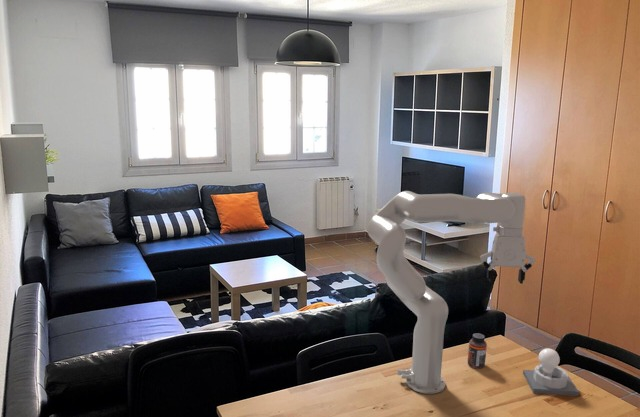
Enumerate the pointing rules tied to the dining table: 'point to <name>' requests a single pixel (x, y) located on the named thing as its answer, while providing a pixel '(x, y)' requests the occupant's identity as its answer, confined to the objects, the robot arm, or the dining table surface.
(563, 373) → the socket holder
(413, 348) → the robot arm
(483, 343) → the supplement bottle
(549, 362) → the lightbulb
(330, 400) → the dining table surface
